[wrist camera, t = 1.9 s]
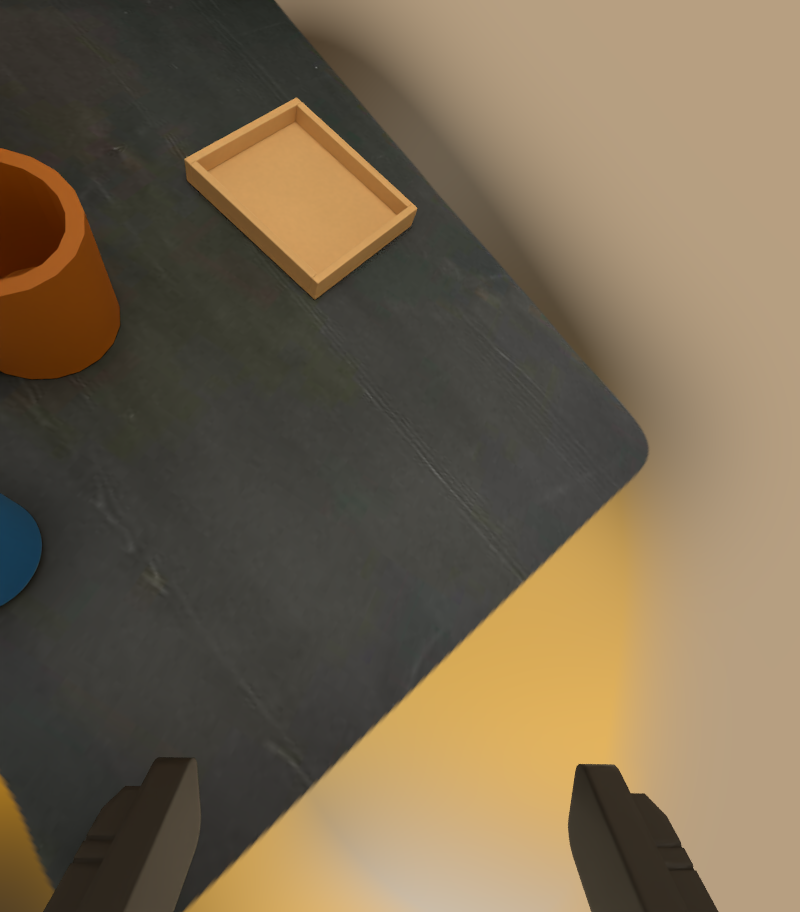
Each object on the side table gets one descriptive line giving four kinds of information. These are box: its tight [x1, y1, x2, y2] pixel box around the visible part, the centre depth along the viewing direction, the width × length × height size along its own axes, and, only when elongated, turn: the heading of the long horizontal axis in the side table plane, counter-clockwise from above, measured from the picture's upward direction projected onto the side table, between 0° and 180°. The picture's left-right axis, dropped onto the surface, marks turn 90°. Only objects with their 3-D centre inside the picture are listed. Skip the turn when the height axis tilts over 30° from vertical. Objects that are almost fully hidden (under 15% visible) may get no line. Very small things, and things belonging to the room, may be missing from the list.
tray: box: [184, 98, 417, 299], centre depth 42 cm, size 13×11×2 cm
